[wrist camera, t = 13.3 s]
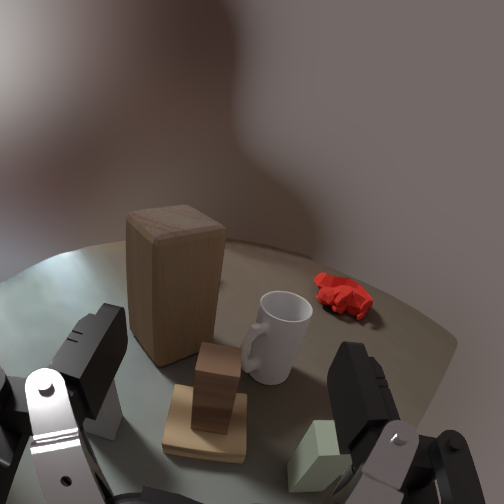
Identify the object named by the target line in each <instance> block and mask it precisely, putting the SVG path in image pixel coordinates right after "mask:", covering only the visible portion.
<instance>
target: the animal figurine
mask: <svg viewBox="0 0 504 504" xmlns="http://www.w3.org/2000/svg"><path fill="white" fill-rule="evenodd" d="M314 282H315V283H316V284H317V286H318V287H319V295H317V294H316V298H319V303H320V304H325V305H331V306H332V308H331V309H332V310H333V311H334V312H338V313H340V314H342V313H343V312H344V311H345V310H346V311H347V313H349V314H351V315H354V316H357V320H360V319H362V318H364V316H365V314H366V311H367V309H368V310H369V309H370V308H371V306H372V304H373V300H372V298H371V297H370V295H369V294H368V292H367V291H366V290H365V289H364V288H363V287H362V286H361V285H360V284H358V283H356V282H355V281H353V280H351V279H349V278H343V277H335V276H332V275H328V274H326V273H324V272H323V273H320V274H318V275H317V276H316V277H315V279H314Z"/></svg>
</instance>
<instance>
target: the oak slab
mask: <svg viewBox="0 0 504 504" xmlns="http://www.w3.org/2000/svg"><path fill="white" fill-rule="evenodd" d="M192 400H193V387H191V386H185V385H179V384H175V387H174V391H173V396H172V400H171V404H170V409H169V413H168V417H167V422H166V426H165V431H164V436H163V440H162V448H163V453H167V454H173V455H178V456H184V457H190V458H196V459H203V460H211V461H220V462H229V463H240V464H243V462H244V460H245V457H246V436H247V394H242V393H236V398H235V402H234V406H233V411H232V415H231V419H230V423H229V428H228V432H227V435H224V434H217V433H211V432H205V431H199V430H193V429H191V415H192Z"/></svg>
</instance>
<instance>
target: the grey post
mask: <svg viewBox="0 0 504 504" xmlns="http://www.w3.org/2000/svg"><path fill="white" fill-rule="evenodd" d="M122 417H123V414H122V410H121V406H120V403H119V398H118V394H117V390H116V386H115V381H114V379H113V381H112V384H111V386H110V388H109V390H108V393H107V395H106V397H105V399H104V402H103V404H102V406H101V409H100V411H99V413H98V416H97V418H96V421H95V420H92V419H89V418H85V420H84V422H83V425H84V427H85V430H86V432H88V433H91V434H94V435H97V436H100V437H103V438H106V439H109V440H113V441H114V440H115V437H116V434H117V431H118V428H119V425H120V422H121V419H122Z"/></svg>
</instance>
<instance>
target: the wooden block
mask: <svg viewBox="0 0 504 504" xmlns="http://www.w3.org/2000/svg"><path fill="white" fill-rule="evenodd" d="M226 235H227V232H226V228H225V227H224V226H223V225H222V224H220V223H218V222H216V221H215V220H213V219H211V218H209V217H208V216H206V215H204V214H203V213H201V212H199V211H197V210H196V209H194V208H192V207H190V206H188V205H178V206H169V207H161V208H153V209H144V210H137V211H131V212H129V213H128V214H127V216H126V271H127V293H128V309H129V322H130V330H131V331H132V333H133V334H134V336H135V337H136V338H137V340H138V341H139V343H140V344H141V345H142V347H143V348H144V349H145V351H146V352H147V354H148V355H149V356H150V358H151V359H152V360H153V362H154V363H155V364H156V365H157V366H158V367H163V366H166V365H168V364H171V363H173V362H176V361H178V360H181V359H183V358H186V357H188V356H190V355H193V354H195V353H198V352H199V351H200V347H201V343H202V342H207V343H212V341H213V333H214V325H215V317H216V309H217V301H218V293H219V286H220V278H221V271H222V264H223V257H224V249H225V242H226Z"/></svg>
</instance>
